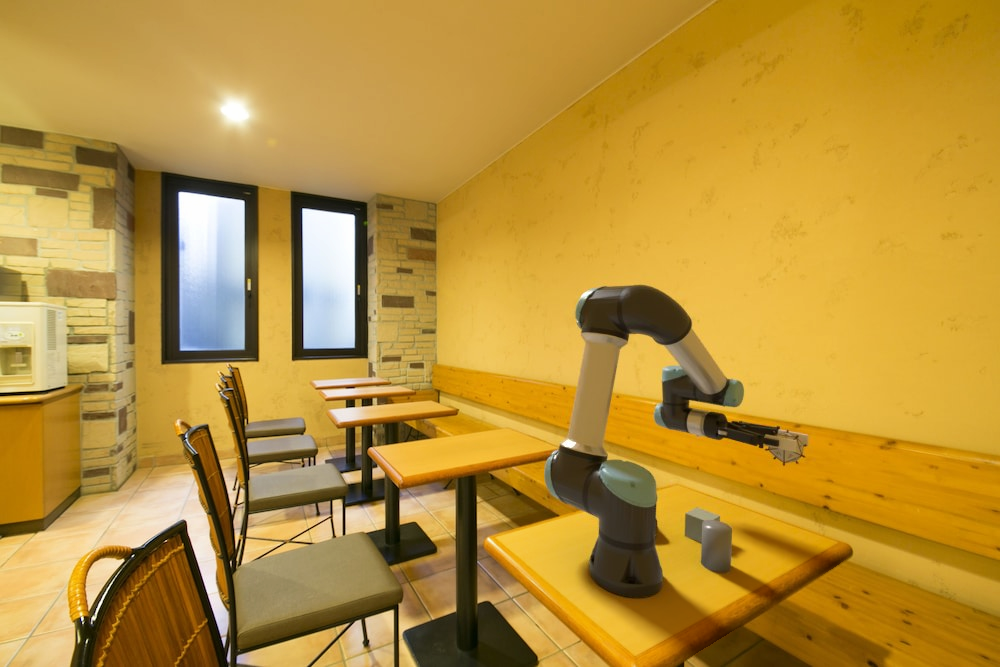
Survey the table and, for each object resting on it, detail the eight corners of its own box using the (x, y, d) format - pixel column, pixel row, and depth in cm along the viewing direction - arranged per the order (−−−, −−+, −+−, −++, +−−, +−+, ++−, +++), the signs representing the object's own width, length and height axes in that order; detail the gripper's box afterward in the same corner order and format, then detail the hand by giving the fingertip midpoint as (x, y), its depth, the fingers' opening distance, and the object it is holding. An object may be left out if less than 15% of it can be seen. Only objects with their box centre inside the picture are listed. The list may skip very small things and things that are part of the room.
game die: (793, 480, 105) (821, 456, 99) (759, 465, 106) (784, 440, 100) (786, 453, 112) (811, 429, 106) (754, 440, 113) (777, 415, 108)
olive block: (684, 536, 109) (685, 513, 109) (696, 529, 112) (697, 507, 112) (707, 546, 104) (708, 522, 104) (719, 538, 108) (720, 515, 108)
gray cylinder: (695, 563, 96) (697, 524, 96) (708, 554, 100) (710, 517, 100) (723, 576, 92) (724, 535, 91) (735, 566, 95) (736, 527, 95)
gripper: (724, 431, 127) (815, 451, 110) (689, 443, 114) (785, 467, 97) (725, 407, 127) (816, 422, 109) (690, 415, 114) (787, 434, 96)
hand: (802, 443), depth 103 cm, fingers closed on game die, 8 cm apart
